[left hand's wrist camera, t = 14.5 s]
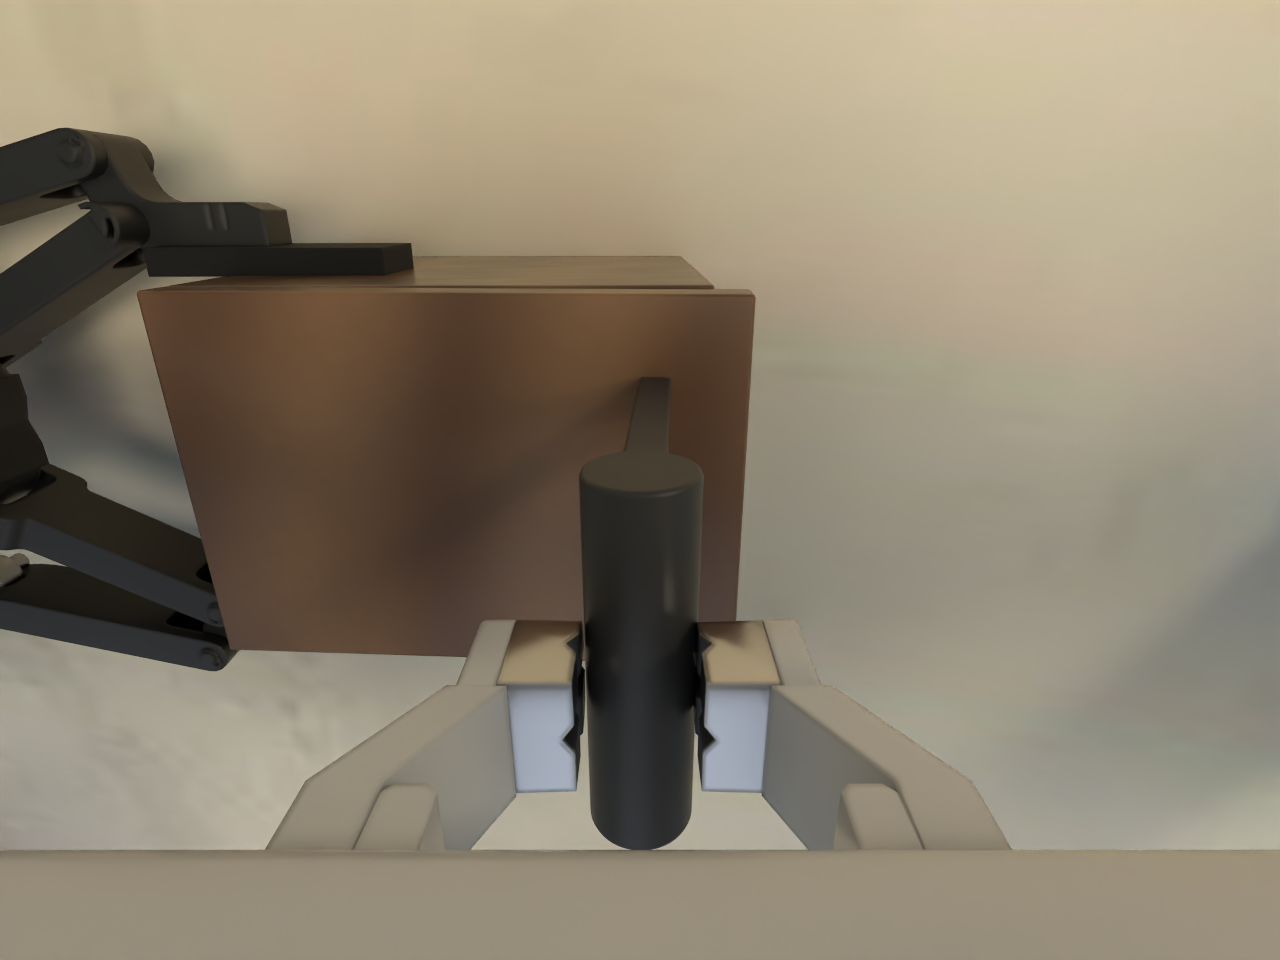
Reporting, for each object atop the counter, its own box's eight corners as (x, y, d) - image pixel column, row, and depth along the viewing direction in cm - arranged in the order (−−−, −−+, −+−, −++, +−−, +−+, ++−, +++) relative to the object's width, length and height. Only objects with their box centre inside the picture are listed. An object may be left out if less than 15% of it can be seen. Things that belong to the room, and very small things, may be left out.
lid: (751, 289, 16) (821, 365, 8) (730, 643, 19) (765, 930, 12) (166, 286, 16) (-284, 353, 9) (251, 629, 20) (-16, 891, 12)
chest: (682, 256, 27) (714, 284, 17) (677, 483, 30) (701, 624, 20) (345, 256, 27) (166, 285, 16) (379, 485, 30) (250, 627, 20)
